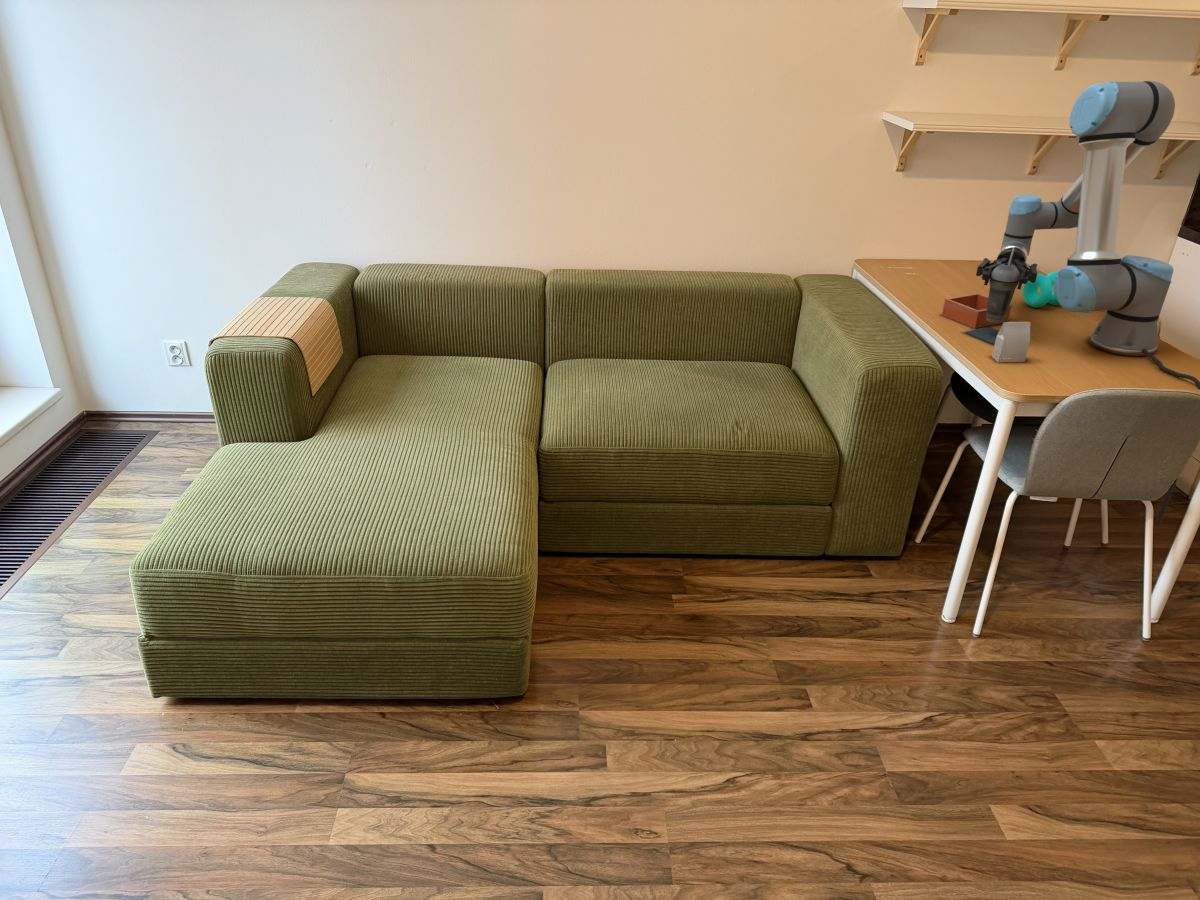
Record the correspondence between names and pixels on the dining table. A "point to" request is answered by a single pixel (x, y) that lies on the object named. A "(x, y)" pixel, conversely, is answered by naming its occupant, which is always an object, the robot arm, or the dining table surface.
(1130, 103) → the robot arm
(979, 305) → the open reddish-brown box
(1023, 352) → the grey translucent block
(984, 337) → the pad
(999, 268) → the beverage cup
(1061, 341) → the dining table surface
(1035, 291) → the donuts
